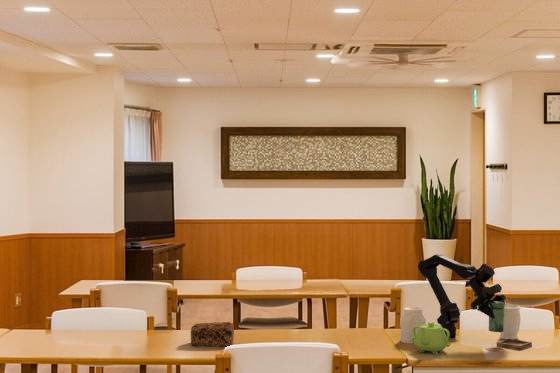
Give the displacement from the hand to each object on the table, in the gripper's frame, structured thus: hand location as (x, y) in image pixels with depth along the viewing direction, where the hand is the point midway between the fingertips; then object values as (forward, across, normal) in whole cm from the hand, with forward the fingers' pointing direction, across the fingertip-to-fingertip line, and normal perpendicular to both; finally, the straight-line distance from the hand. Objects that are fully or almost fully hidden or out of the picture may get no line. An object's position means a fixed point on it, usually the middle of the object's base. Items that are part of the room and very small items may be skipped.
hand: (498, 317), depth 358 cm
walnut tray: (+12, +6, +6) cm, 15 cm away
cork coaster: (+12, -7, +7) cm, 15 cm away
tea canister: (+3, 0, +5) cm, 6 cm away
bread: (-46, -98, +68) cm, 128 cm away
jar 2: (+3, +20, +16) cm, 26 cm away
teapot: (+2, -31, +18) cm, 36 cm away
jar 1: (-12, -21, +32) cm, 40 cm away
